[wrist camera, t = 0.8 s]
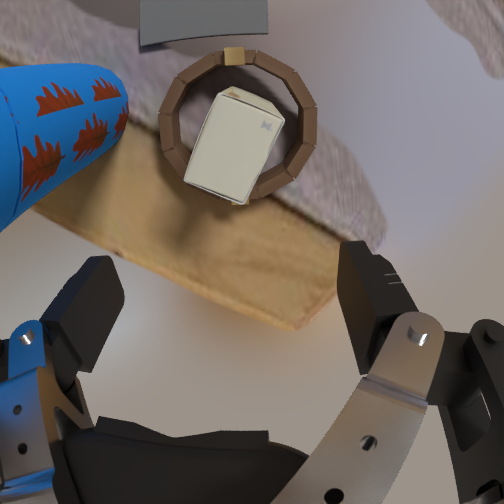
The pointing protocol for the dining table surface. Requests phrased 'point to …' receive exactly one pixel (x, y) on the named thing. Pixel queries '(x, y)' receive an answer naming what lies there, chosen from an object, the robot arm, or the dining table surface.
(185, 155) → the ring
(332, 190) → the dining table surface
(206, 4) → the rubber mat
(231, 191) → the skincare box
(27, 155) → the thermos
